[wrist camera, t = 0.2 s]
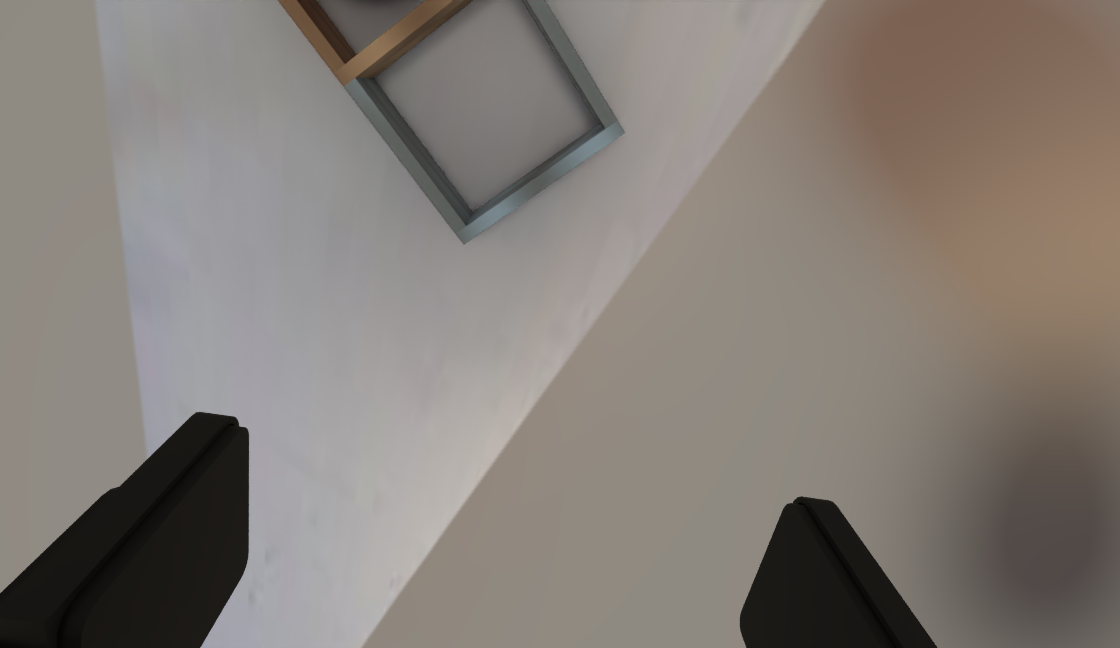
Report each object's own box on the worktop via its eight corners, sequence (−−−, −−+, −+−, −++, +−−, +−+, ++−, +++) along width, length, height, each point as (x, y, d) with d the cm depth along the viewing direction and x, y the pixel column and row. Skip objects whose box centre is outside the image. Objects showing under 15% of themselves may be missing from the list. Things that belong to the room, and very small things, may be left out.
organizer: (386, -252, 30) (365, -299, 26) (616, 127, 37) (625, 132, 34) (221, -103, 32) (181, -127, 29) (470, 229, 40) (463, 244, 36)
